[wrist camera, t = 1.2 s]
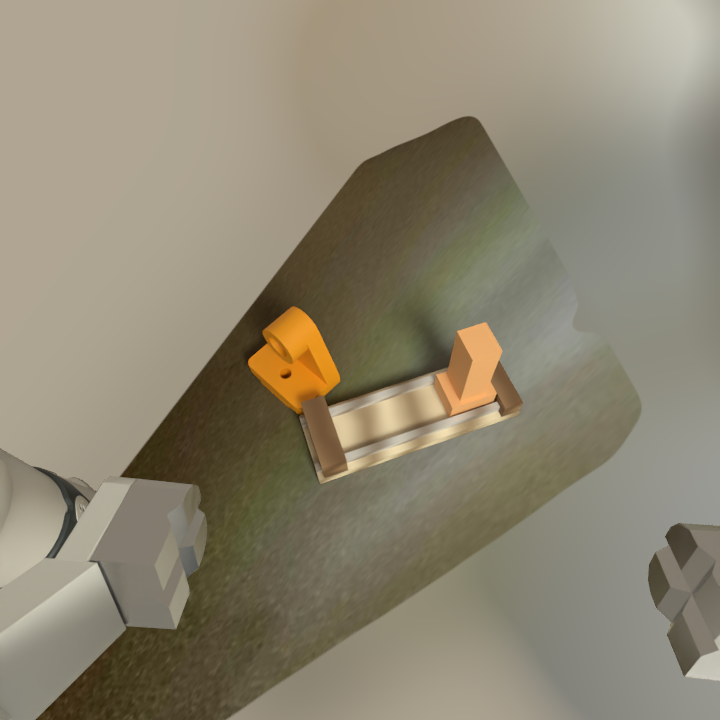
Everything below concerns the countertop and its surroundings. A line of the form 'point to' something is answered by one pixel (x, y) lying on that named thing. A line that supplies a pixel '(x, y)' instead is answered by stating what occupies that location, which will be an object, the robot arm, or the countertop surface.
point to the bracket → (294, 360)
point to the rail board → (393, 423)
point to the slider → (469, 371)
